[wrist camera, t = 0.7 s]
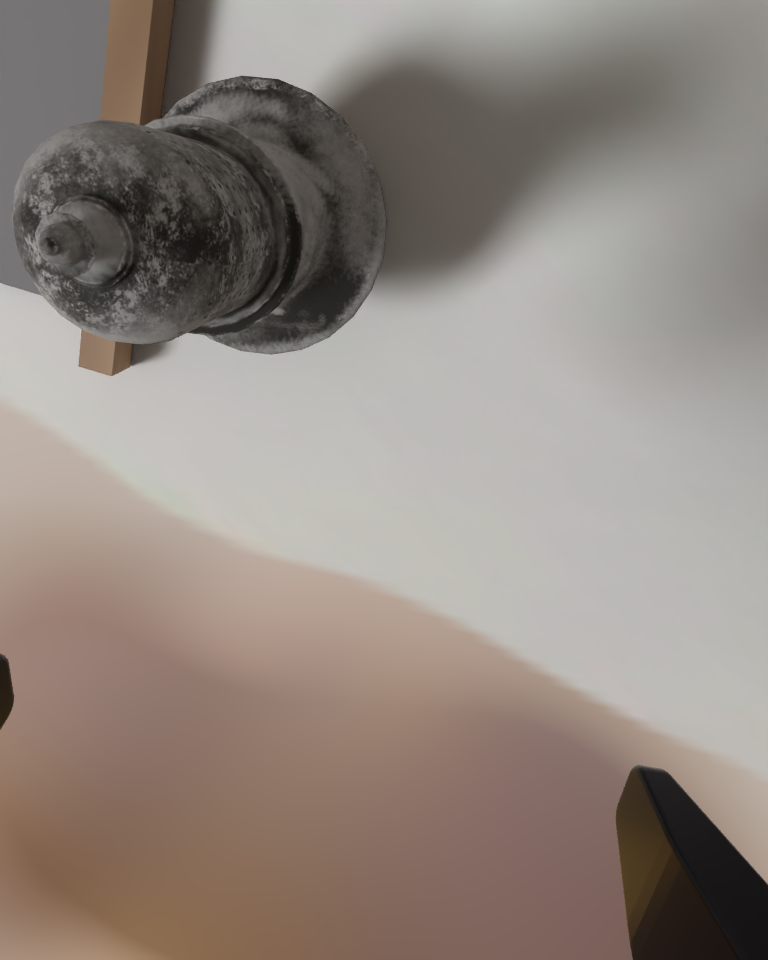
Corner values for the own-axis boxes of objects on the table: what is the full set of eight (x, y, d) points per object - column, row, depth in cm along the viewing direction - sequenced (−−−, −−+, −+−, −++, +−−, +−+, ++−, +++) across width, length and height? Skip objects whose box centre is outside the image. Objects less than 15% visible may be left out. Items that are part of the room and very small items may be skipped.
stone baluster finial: (200, 76, 16) (-284, -185, 6) (419, 131, 17) (372, -18, 6) (179, 302, 19) (-188, 435, 8) (371, 350, 19) (271, 546, 8)
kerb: (182, -62, 15) (162, -83, 14) (129, 366, 20) (111, 376, 19) (142, -75, 15) (119, -97, 14) (99, 357, 20) (78, 366, 19)
